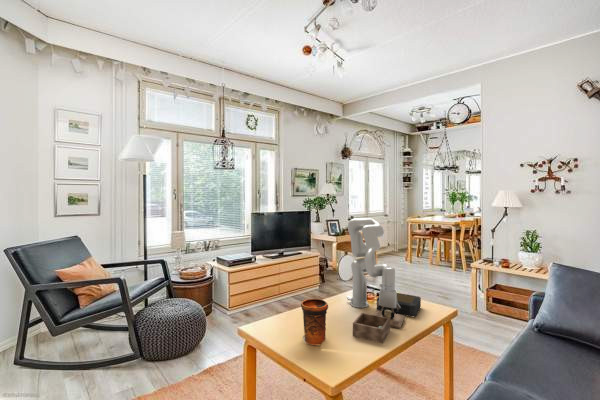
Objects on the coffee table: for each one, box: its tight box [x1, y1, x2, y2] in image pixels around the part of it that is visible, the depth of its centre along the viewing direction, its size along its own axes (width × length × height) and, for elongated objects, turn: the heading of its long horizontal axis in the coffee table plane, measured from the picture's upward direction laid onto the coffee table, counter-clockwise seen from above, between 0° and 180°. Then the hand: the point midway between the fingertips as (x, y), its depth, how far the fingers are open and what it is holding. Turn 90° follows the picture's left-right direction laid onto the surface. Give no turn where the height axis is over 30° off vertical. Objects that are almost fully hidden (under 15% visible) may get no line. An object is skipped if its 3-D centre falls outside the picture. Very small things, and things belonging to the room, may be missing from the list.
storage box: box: [352, 312, 391, 344], centre depth 167 cm, size 16×16×8 cm
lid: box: [373, 310, 406, 329], centre depth 184 cm, size 17×17×5 cm
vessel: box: [300, 298, 329, 347], centre depth 162 cm, size 14×14×20 cm
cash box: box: [376, 292, 422, 317], centre depth 205 cm, size 25×20×8 cm
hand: (388, 317), depth 184 cm, fingers closed on lid, 4 cm apart
